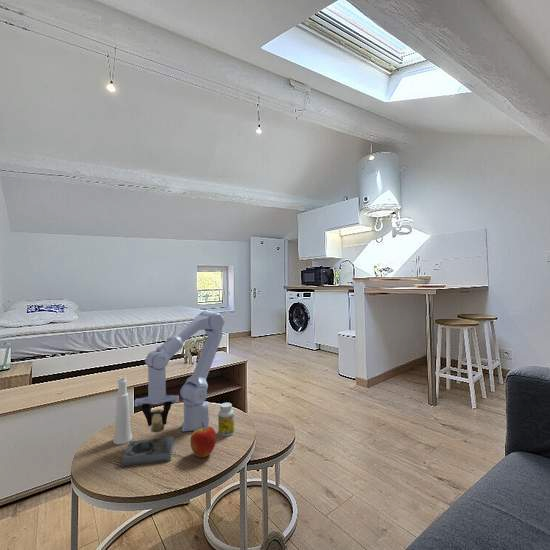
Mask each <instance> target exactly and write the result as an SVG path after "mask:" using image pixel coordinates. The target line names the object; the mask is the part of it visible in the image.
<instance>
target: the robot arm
mask: <svg viewBox="0 0 550 550" xmlns="http://www.w3.org/2000/svg"><path fill="white" fill-rule="evenodd" d="M224 325H225V320H224V317H223V316H222V314H221V313H220V312H211V311H201V312H200V313H199V314H197V315H196V316H195V318H194V320H192V321H191V322H190V323H189V324H188V325H187V326H186V327H185V328H184V329H183V330H182V331H181V332H179V334H177V335H172V336H168V337H167V338H166V341H165V342H163V343H162V344H161V345H160V346H156V349H154V350H151V351H149V352H148V353H147V355H146V358H145V359H144V363H145V364H146V365H145V366H147V367H148V368H147V369H148V370H147V374H148V375H147V380H148V381H147V383H148V384H147V389H148V390H147V391H148V396H144V397H141V398H135V400H134V407H138V406H141V411H142V413H143V415H144V417H145V419H146V422H147V427H151V412H152V405H159V404H163V407H162V408H163V410H164V426H166V425H167V420H168V415H169V412H170V410H171V407H172V404H173V403H175V404H177V403H179V402H180V397H181V398H182V399H183V423H182V428H181V431H182V432H190V431H195V430H197V429H200V428H206V427H209V422H210V415H209V401H206V400H207V397H208V392H207V391H208V388H209V384H208V382H207V378H208V375H209V372H210V370H211V367H212V365H213V362H214V359H215V357H216V355H217V351H218V349H219V346H220V344H221V341H222V339H223V328H224ZM202 330H203V331H204V332H205V334H206V336H207V338H206V340H205V341H204V345H203V348H202V350H201V352H200V355H199V357H198V360H197V363H196V366H195V368H194V371H193V373H192V375H191V376H189V377H188V378H187V379H186V382H185V383H184V384H183V385H182V386H181V388H180V392H179V393H180V395H179V394H177V395H173V394H167V389H166V388H167V386H166V385H167V383H166V381H167V380H166V374H167V373H166V367H167V366H168V364H169V361H170V360H171V359H172V358H173V357H174V356H175V355H176V354H177V353H178V352H179V351H180V350H182V349H183V348H184V347H183V346H184V343H185V342H186V341H188V340H189V339H190V338H191V337H193V336H194V335H195V334H196V333H197V332H198V331H202ZM202 423H203V424H202Z"/></svg>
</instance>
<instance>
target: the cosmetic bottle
mask: <svg viewBox="0 0 550 550" xmlns="http://www.w3.org/2000/svg"><path fill="white" fill-rule="evenodd" d="M117 381H118V382H117V395H116V404H115V423H114V424H115V426H114V433H113V438H112V439H113V440H112V442H113V444H114V445H124V444H127V443H130V441H132V439H133V434H132V430H131V420H130V416H131V415H130V403H129V392H128V385H127V384H128V381H127V377H126V376H119V378H118V380H117Z"/></svg>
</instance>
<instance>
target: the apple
mask: <svg viewBox="0 0 550 550" xmlns="http://www.w3.org/2000/svg"><path fill="white" fill-rule="evenodd" d="M202 424H203V423H202ZM189 441H190V448H191V450H192V453H193V454H194V455H195V456H197V457H199V458H206V457H207V456H209V455H210V454H211V453H212V452H213V450H214V449H215V446H216V442H217V435H216V431H215V429H214V427H211V426H208V427H206V428H200V429H197V430H193V432H192V433H191V435H190V440H189Z"/></svg>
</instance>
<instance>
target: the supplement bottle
mask: <svg viewBox="0 0 550 550" xmlns="http://www.w3.org/2000/svg"><path fill="white" fill-rule="evenodd" d="M217 416H218V417H217V418H218V421H217V422H218V434H219V435H220V436H221V435H222V437H229V435H230V436H232V435H233V434H234V433H235V411H234V410H233V404H232V403H230V402H223V403H221V404H220V405H219V411H218V414H217Z"/></svg>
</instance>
